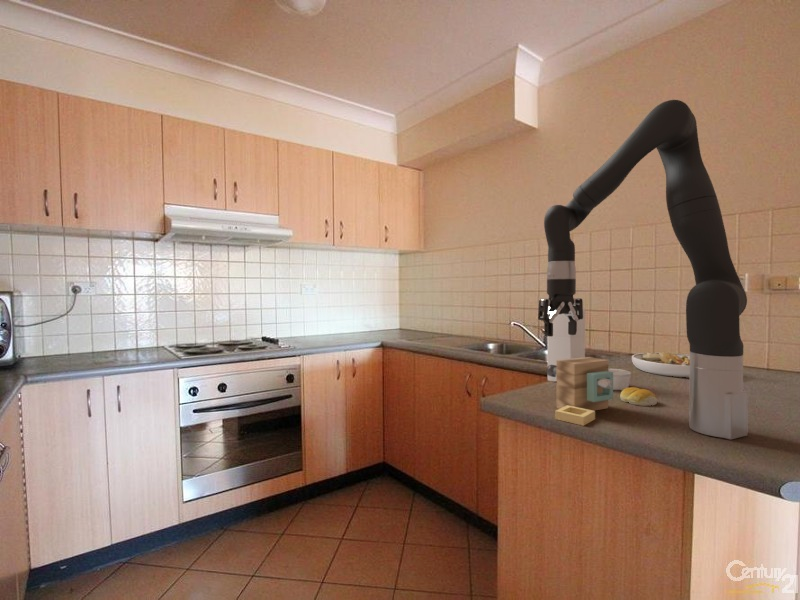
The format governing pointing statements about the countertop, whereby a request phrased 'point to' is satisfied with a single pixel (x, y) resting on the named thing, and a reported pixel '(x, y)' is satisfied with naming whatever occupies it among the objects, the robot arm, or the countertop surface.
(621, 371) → the ramekin
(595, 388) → the frame
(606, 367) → the block
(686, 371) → the bowl
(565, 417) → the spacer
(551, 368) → the shaft
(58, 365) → the countertop surface
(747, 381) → the countertop surface
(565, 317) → the tall white carton
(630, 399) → the bread roll
